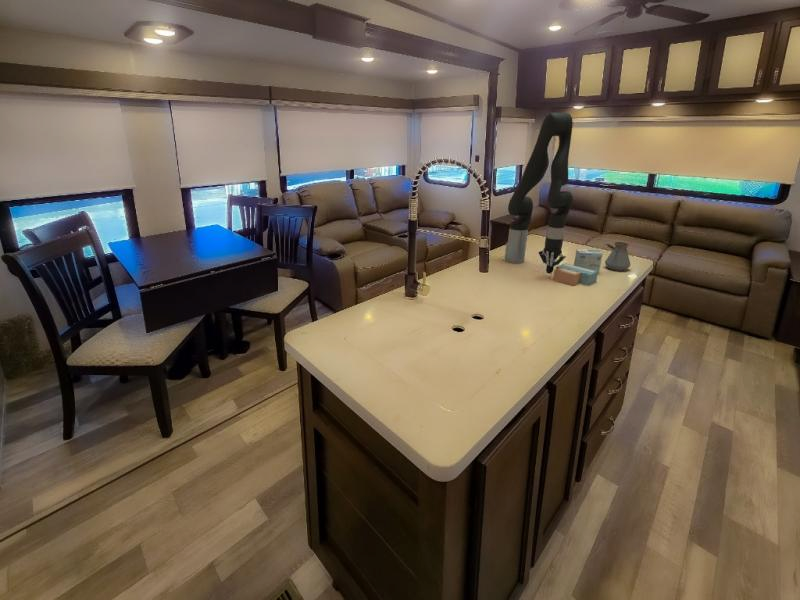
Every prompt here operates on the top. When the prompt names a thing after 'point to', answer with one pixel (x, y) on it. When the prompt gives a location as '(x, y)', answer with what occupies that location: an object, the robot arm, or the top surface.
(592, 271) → the blue labelled box
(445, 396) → the top surface
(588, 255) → the light bulb box
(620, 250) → the coffee pot
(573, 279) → the orange labelled box
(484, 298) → the top surface
